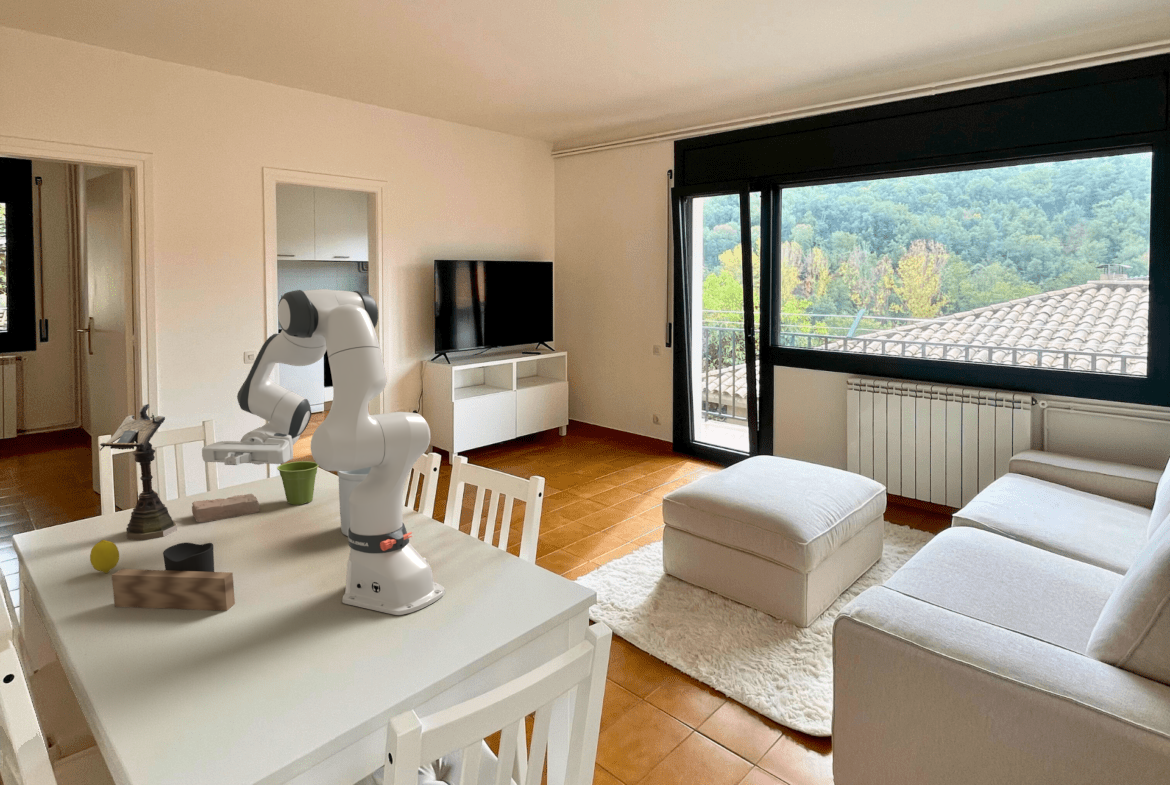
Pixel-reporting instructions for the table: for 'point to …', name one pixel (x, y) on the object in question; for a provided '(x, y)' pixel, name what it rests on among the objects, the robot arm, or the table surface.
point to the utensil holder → (348, 492)
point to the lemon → (104, 556)
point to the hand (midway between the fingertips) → (230, 462)
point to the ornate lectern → (143, 477)
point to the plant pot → (298, 481)
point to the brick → (224, 508)
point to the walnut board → (173, 589)
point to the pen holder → (189, 557)
